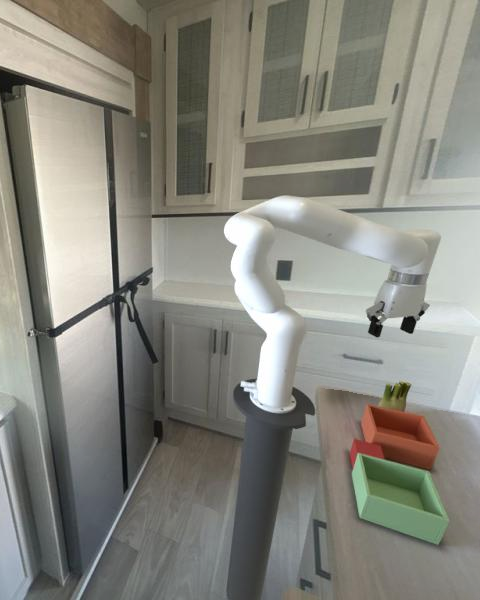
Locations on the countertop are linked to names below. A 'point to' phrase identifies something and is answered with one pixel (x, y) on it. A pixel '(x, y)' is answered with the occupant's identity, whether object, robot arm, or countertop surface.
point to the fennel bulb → (395, 396)
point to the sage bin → (399, 498)
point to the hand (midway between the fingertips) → (389, 333)
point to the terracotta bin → (400, 435)
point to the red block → (365, 450)
